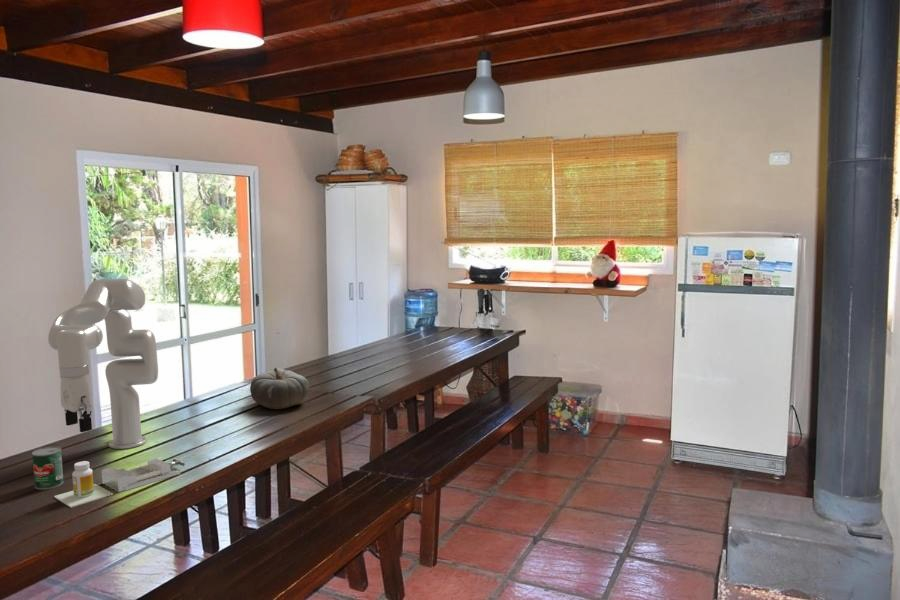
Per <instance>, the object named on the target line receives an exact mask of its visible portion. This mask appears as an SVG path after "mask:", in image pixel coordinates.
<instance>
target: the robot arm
mask: <svg viewBox="0 0 900 600" xmlns="http://www.w3.org/2000/svg"><path fill="white" fill-rule="evenodd" d="M83 295H84V296H83V297H82V299H81V301H80V303H78V304H77V305H74V306H73V307H70V308H69V309H67V310H64V311H63V312H62V313H60V314H58V316H57V317H56V318H55V319H54V321H53V323H52V325H51V327H50V329H49V332H48V335H47V336H48V337H47V339H48V344H49V346H50V347H51V348H52V349H53V350H56V351H57V356H58V357H57V359H58V367H59V368H58V369H59V378H60V405H61V407H62V408H63V409H64V416H65V425H66V426H73V425H76V424H79V432H80V433H85V432H89V431H92V430H93V427H92V424H93V423H92V407H93V406H92V404H91V400H92V399H91V392H90V385H89V379H88V376H90V370H89V369H90V367H89V358H88V357H89V356H88V351H90V350H93V349H96V348H98V347H99V346H100V345H101V343H102V342H103V338H104V335H103V331H102V329H101V328H100V327H99V326H98V325H95V324H97V323H101V322H102V321H104V324H105V331H106V343H107V349H108V352H109V354H110V355H111V356H113V357H118V358H119V357H140V358H126V359H125V358H122V359H115V360H111V361H110V362H108V364H106V367H105V377H106V378H105V379H106V381H107V385H108V390H109V391H108V392H109V399H110V400H109V401H110V412H111V427H112V432H111V434H112V440H110V441H109V442H108V447H109V448H111V449H115V450H123V449H126V450H127V449H132V448H136V447H139V446H142V445H143V444H145V443H146V442H147V437H146V436H143V435H142V426H141V425H142V424H141V423H142V422H141V410H140V409H141V408H140V407H141V406H140V396H139V393H138V392H137V390H136V389H135V388H134V387H133V386H139V385H144V386H145V385H152V384H154V383H155V382H157V380H158V378H159V365H158V354H157V353H158V351H157V342H156V337H155V335H154V334H155V333H153V331H151V330H149V329H133V326H132V325H133V324H132V323H133V322H132V316H131V314H130V313H129V311H137V310H140V309H142V308H143V307H145V306H144V305H145V302H146V295H145V291H144V289H143V287H142V286H140V285H139V284H137V282H134V281H133V280H131V279H127V278H112V279H111V278H110V279H109V278H107V279H105V278H104V279H98V280H94V281H92V282H91V283H90V284H89V285H88V288H87V290H86V292H85V293H84V294H83ZM78 416H79V418H78Z"/></svg>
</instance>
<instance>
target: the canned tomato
mask: <svg viewBox="0 0 900 600" xmlns="http://www.w3.org/2000/svg"><path fill="white" fill-rule="evenodd" d="M31 455H32V468H33V477H34V478H33V481H34V488H35V489H36V490H49V489H54V488H57V487H60V486H62V485H63V484H64V474H63V472H64V471H63V459H62V457H63V456H62V448H61V447H60V446H48V447H46V446H45V447H42V448H38V449H36V450H34V451H32V452H31Z"/></svg>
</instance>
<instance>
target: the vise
mask: <svg viewBox="0 0 900 600" xmlns="http://www.w3.org/2000/svg"><path fill="white" fill-rule="evenodd" d="M179 465H180V466H183V467H184V466H185V465H186V464H185V462H184V461H181V460H178V459H176V458H173V459H172V462H171V461H170V462H168V463H167V462H166V461H163V460H161V459H158V458H154V459H151V460H148V461H147V464H145V465H141V466H139V467H135V468H132V469H125V468H118V469H116V468H114V467H112V466H111V467H108V468H104V469H101V477H102V481H101V482H102V484H103V485H104V484H105V485H104V486H106V487H108V486H109V489H112V490H113V489H114V491H116V492H117V493H121V492H126V491H129V490H132V489H136V488H139V487H142V486H145V485H148V484H152V483H155V482H159V481H161V480H165V479H168V478H171V477H174V476H178V475H181V470H180V469H177V470H174V471H171V470H172V469H171V468H172V467H175V466H179Z"/></svg>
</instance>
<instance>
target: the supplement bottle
mask: <svg viewBox="0 0 900 600" xmlns="http://www.w3.org/2000/svg"><path fill="white" fill-rule="evenodd" d="M73 468H74V471H73V472H72V473H71V474H72V475H71V478H72V491H74V496H75V497H77V498H82V497H87V496H90V495H92V494H93V493H94V484H95V483H94V473H93V472H94V471H93V469H92V468H90V462H89V461H87V460H82V461H78V462H75V463H74V466H73Z"/></svg>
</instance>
